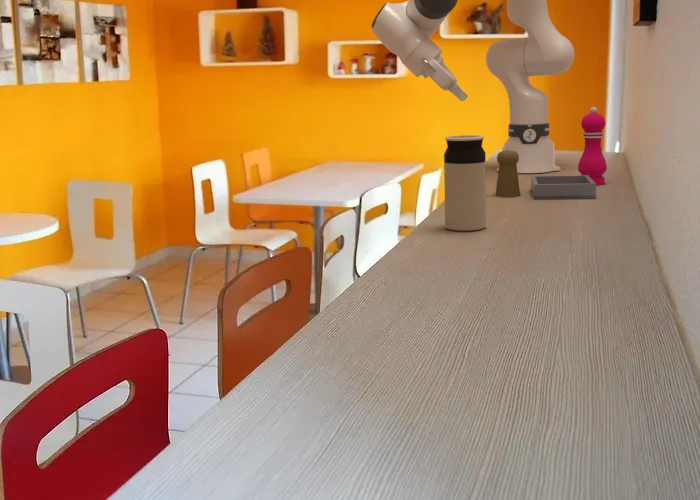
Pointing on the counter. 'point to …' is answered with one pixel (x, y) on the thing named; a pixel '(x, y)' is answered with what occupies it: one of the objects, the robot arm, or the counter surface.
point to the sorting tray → (563, 187)
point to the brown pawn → (507, 174)
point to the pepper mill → (593, 147)
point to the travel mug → (465, 183)
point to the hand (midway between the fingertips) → (465, 99)
